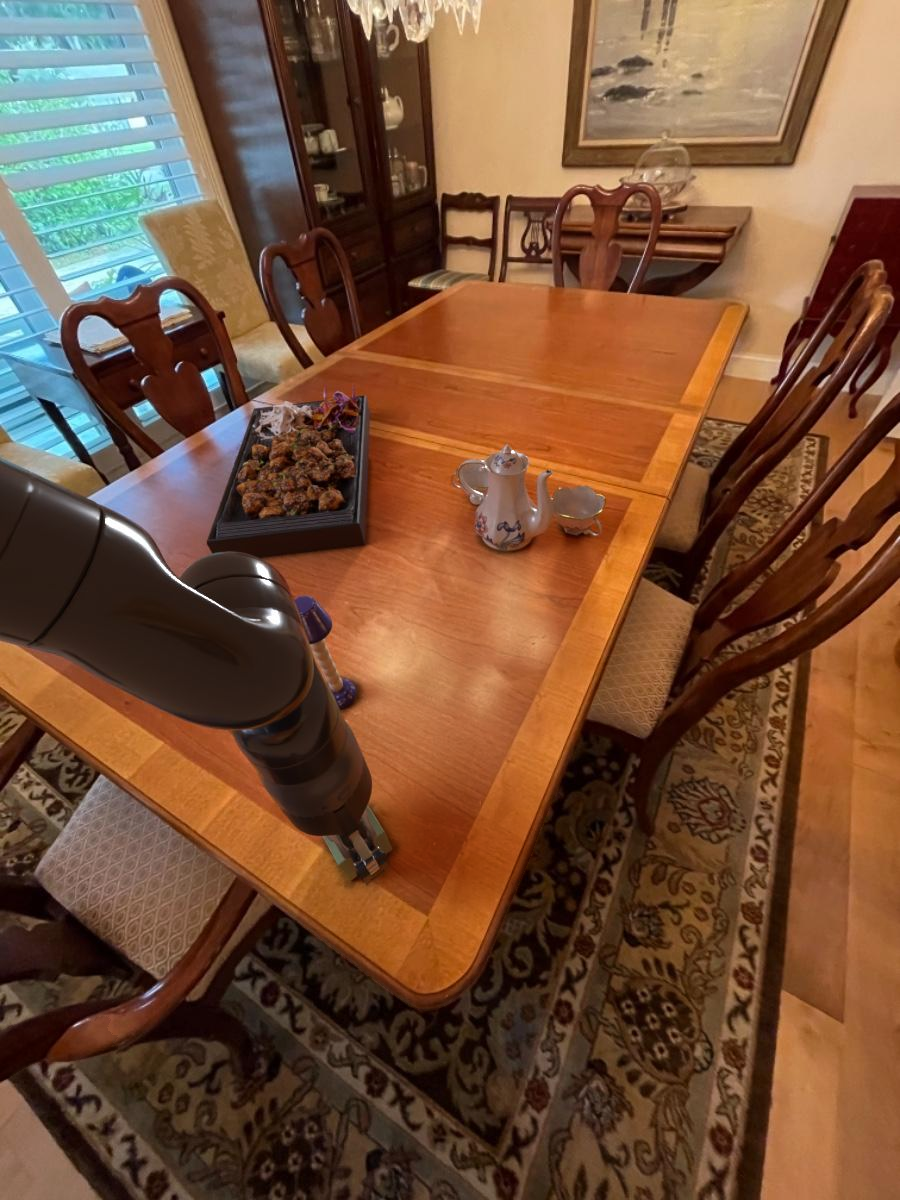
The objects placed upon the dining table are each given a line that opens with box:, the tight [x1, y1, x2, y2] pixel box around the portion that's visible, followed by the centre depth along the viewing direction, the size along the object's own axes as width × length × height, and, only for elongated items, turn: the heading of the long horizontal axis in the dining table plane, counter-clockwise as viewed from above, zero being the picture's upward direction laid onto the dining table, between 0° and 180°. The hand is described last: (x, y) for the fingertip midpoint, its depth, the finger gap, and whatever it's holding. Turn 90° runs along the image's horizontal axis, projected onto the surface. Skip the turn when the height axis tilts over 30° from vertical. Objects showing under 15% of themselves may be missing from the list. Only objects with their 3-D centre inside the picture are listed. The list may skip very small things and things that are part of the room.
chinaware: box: [450, 444, 607, 553], centre depth 83 cm, size 28×17×17 cm, turn 62°
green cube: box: [322, 804, 393, 882], centre depth 53 cm, size 5×5×5 cm
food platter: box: [206, 382, 371, 558], centre depth 100 cm, size 45×25×10 cm, turn 5°
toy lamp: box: [294, 595, 357, 710], centre depth 62 cm, size 5×5×17 cm
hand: (359, 843), depth 55 cm, fingers closed on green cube, 5 cm apart
